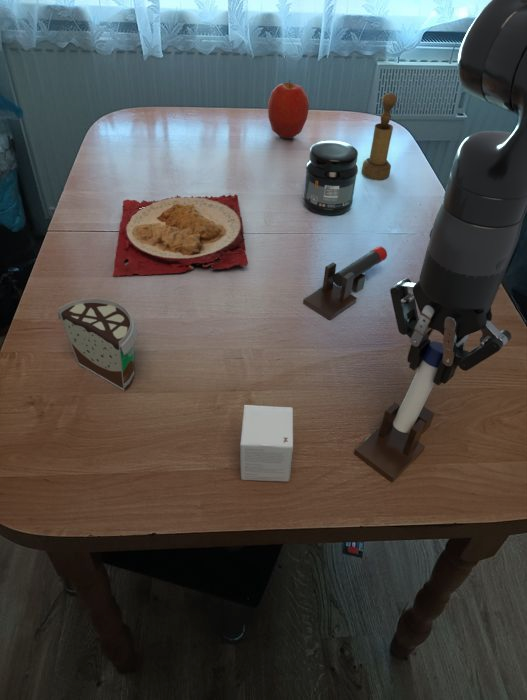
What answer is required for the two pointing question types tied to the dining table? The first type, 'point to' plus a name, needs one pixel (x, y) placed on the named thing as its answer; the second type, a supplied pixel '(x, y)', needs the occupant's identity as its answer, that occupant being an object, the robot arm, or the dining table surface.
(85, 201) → the dining table surface
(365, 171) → the mortar and pestle
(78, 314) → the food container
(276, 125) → the apple
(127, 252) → the plate with food
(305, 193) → the supplement container
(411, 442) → the white marker stand
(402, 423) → the white marker
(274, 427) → the product box
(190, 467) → the dining table surface
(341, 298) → the black marker stand
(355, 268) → the black marker
